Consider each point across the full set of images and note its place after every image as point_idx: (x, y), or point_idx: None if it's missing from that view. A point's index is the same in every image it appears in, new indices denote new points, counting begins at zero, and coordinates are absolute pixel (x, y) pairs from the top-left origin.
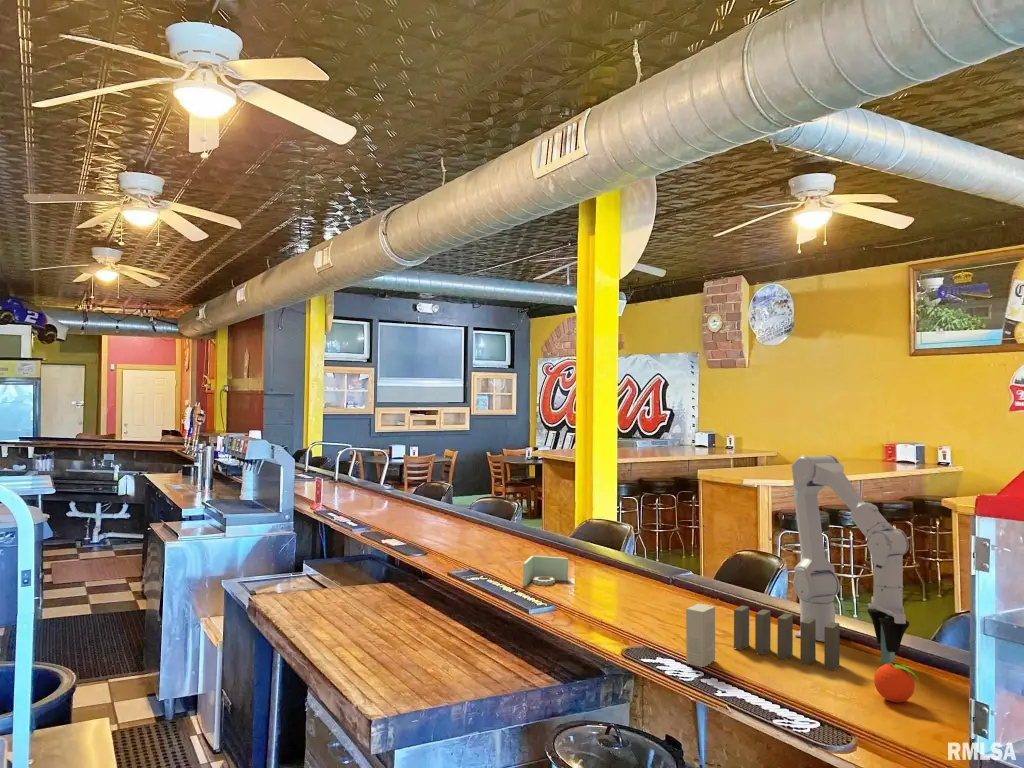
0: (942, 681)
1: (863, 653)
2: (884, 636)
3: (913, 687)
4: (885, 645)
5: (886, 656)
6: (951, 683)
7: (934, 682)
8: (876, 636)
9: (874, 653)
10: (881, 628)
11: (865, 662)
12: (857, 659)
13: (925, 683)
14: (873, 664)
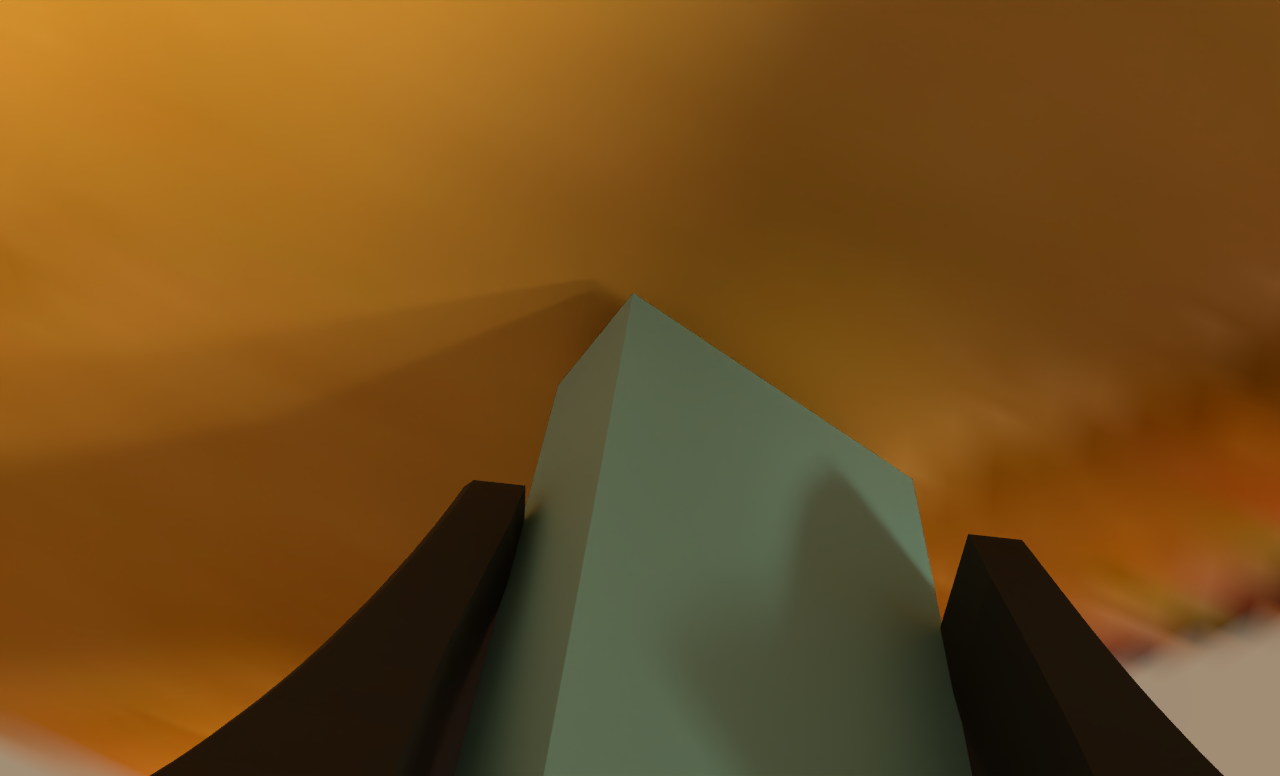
0: (180, 692)
1: (1262, 266)
2: (532, 656)
3: None
4: (548, 532)
5: (565, 420)
6: (143, 737)
7: (114, 610)
8: (1044, 601)
9: (1225, 431)
10: (539, 769)
11: (796, 95)
12: (961, 16)
13: (38, 509)
14: (698, 188)
